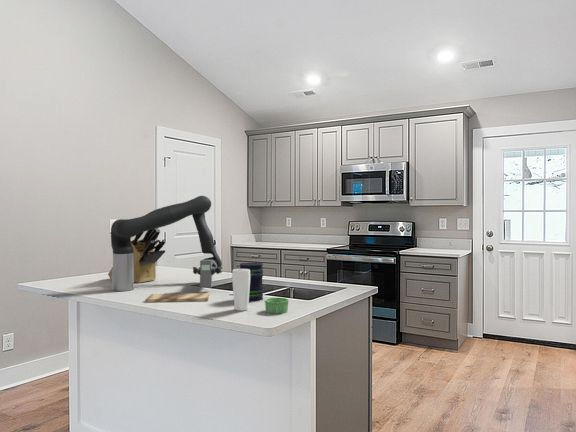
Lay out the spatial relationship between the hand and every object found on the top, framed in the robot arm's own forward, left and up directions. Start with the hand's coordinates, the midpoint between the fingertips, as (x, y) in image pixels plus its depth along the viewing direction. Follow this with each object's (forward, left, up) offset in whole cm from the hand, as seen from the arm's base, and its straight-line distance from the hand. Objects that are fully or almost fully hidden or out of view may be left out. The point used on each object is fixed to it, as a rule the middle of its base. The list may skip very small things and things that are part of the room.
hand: (205, 272), depth 205 cm
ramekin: (+29, -39, -10) cm, 50 cm away
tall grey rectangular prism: (0, +3, -7) cm, 7 cm away
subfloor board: (-10, -11, -10) cm, 18 cm away
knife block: (-40, +43, -10) cm, 59 cm away
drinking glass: (+16, -35, -10) cm, 40 cm away
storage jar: (+20, -15, -10) cm, 27 cm away
